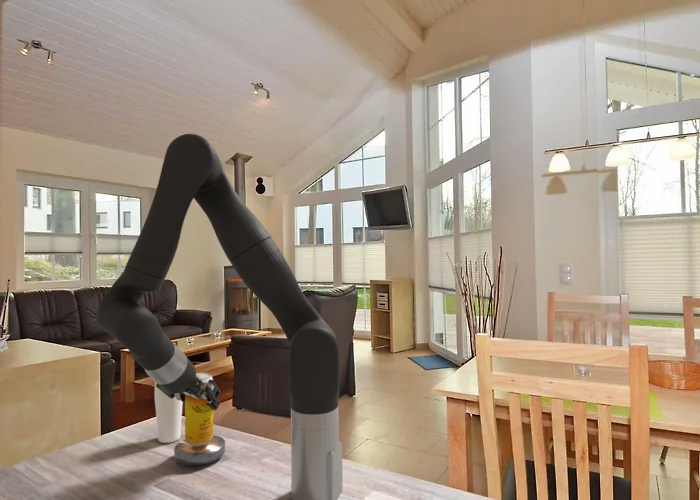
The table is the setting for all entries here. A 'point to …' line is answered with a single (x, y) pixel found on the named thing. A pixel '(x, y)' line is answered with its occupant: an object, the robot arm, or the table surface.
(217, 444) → the disc
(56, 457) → the table surface
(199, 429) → the beer can
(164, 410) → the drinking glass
